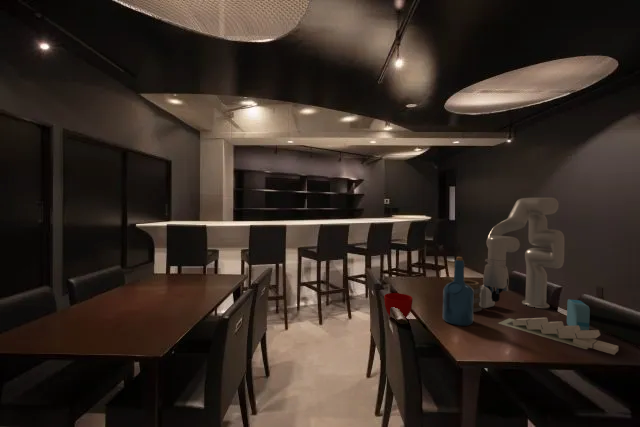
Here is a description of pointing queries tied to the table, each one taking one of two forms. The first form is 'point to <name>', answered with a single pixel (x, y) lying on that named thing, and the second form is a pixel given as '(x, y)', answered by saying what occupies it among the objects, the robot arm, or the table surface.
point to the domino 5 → (596, 345)
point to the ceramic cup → (398, 302)
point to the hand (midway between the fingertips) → (495, 301)
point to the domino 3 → (562, 330)
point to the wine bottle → (458, 298)
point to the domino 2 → (546, 326)
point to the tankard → (476, 292)
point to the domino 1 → (530, 321)
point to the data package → (578, 314)
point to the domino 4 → (581, 334)
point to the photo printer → (485, 298)
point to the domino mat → (538, 332)
